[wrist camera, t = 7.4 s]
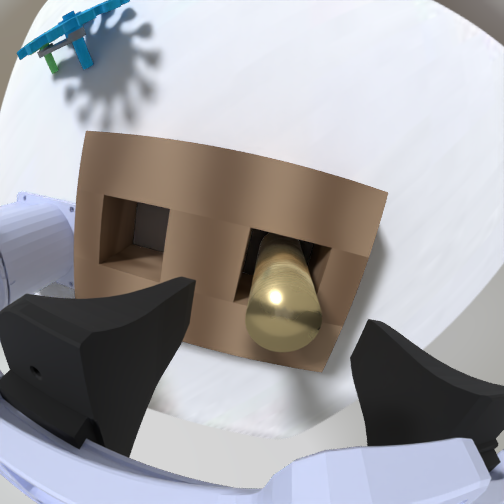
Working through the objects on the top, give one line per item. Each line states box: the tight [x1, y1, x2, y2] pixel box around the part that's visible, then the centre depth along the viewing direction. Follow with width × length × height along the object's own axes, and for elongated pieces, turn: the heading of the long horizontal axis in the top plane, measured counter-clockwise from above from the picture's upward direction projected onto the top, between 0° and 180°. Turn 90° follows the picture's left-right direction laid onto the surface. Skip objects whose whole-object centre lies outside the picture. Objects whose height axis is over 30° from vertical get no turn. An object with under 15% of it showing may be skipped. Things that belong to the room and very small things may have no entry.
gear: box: [17, 0, 130, 74], centre depth 14 cm, size 11×6×10 cm
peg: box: [245, 232, 322, 352], centre depth 15 cm, size 3×3×10 cm
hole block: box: [74, 131, 388, 372], centre depth 18 cm, size 18×12×5 cm, turn 77°
